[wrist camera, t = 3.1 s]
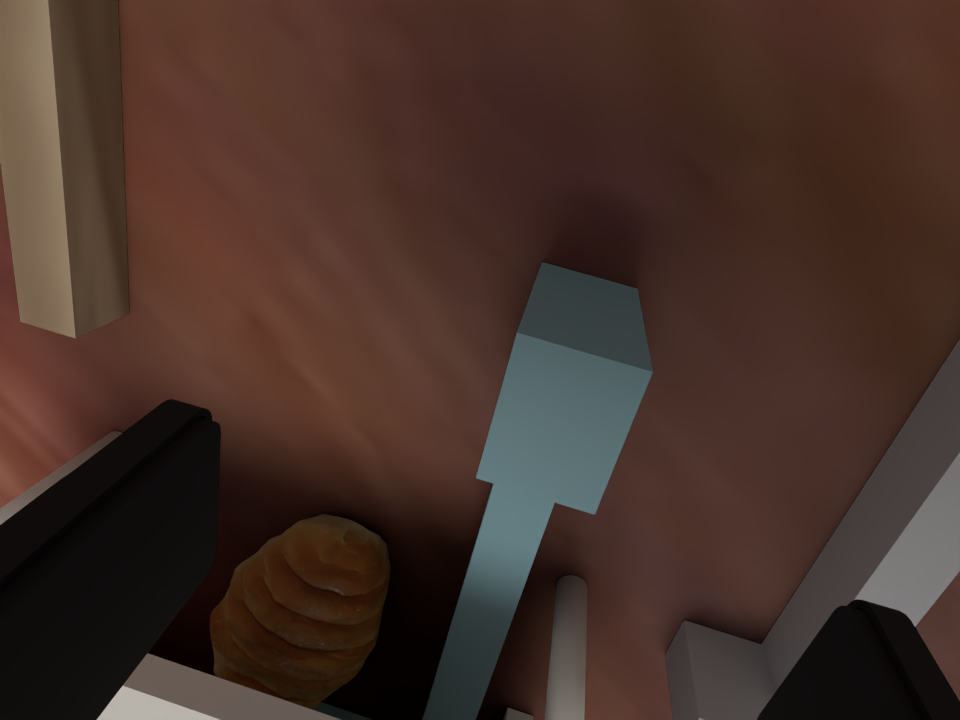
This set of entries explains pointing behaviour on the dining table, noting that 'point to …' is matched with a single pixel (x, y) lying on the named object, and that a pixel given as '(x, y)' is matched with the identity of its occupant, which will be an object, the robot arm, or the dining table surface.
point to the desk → (258, 716)
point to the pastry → (303, 611)
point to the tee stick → (846, 566)
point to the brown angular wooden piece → (64, 161)
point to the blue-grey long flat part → (540, 460)
